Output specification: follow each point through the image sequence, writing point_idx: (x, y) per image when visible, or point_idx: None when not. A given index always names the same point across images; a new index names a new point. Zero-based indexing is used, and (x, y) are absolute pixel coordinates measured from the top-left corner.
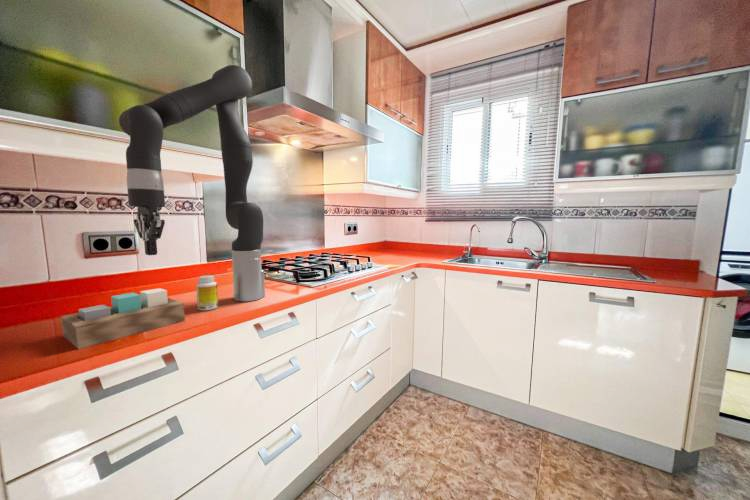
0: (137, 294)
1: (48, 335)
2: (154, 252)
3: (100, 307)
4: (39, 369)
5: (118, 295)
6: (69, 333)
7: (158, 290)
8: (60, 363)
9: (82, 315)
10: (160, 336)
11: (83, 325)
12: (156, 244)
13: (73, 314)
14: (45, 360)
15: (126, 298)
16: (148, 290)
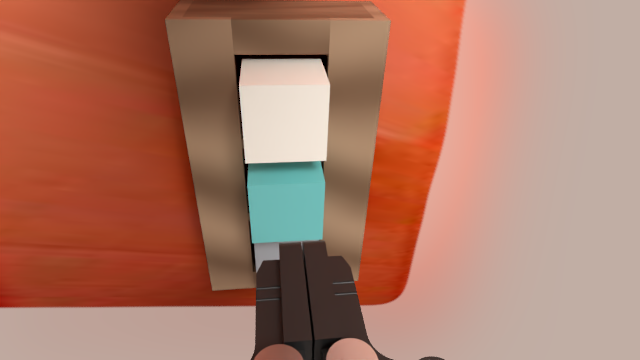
0: (303, 185)
1: (175, 262)
2: (341, 267)
3: None
4: (394, 281)
5: (261, 227)
6: None
7: (297, 110)
8: (397, 263)
9: None
10: (440, 115)
11: (358, 270)
12: (336, 305)
13: (219, 273)
14: None
15: (323, 217)
16: (257, 137)
